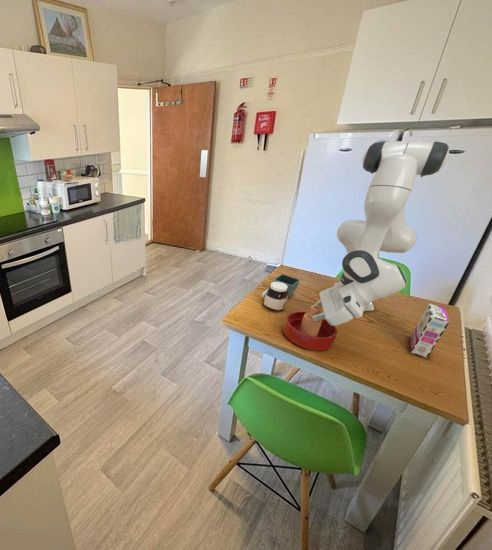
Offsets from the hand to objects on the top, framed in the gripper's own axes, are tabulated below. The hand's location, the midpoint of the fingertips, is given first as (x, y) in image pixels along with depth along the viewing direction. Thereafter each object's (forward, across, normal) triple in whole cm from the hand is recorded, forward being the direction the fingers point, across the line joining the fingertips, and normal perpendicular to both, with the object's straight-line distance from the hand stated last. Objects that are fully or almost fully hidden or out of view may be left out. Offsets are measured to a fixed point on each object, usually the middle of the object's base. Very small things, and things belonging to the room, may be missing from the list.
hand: (312, 314), depth 113 cm
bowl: (+7, 0, +8) cm, 11 cm away
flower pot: (+13, -31, +3) cm, 34 cm away
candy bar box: (-19, -8, +35) cm, 41 cm away
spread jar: (+17, -20, -1) cm, 26 cm away
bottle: (+7, 0, +8) cm, 10 cm away
